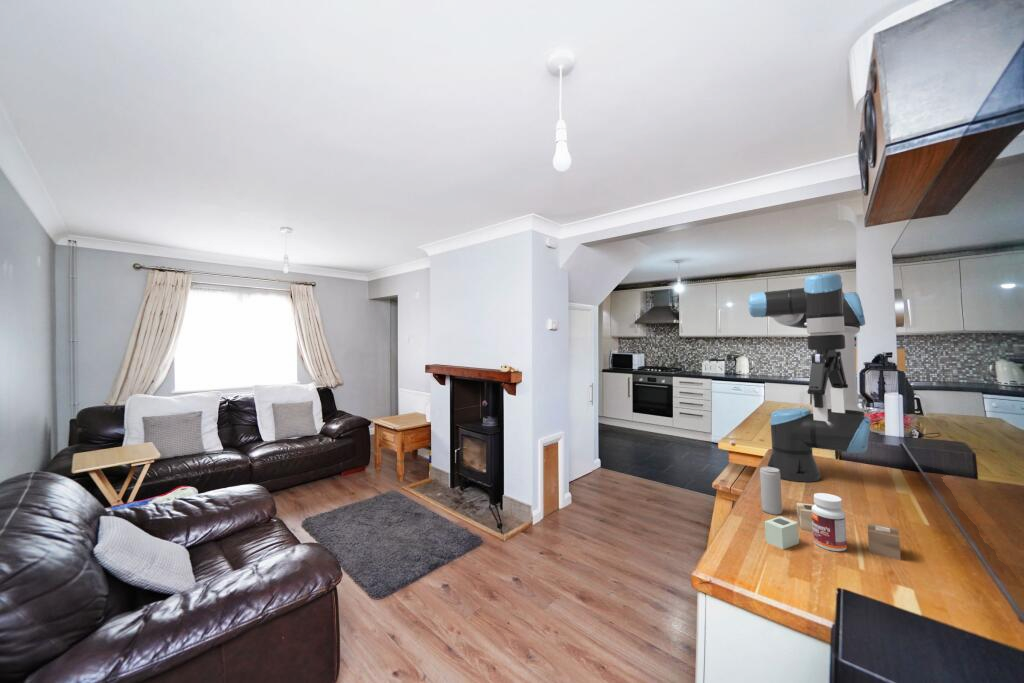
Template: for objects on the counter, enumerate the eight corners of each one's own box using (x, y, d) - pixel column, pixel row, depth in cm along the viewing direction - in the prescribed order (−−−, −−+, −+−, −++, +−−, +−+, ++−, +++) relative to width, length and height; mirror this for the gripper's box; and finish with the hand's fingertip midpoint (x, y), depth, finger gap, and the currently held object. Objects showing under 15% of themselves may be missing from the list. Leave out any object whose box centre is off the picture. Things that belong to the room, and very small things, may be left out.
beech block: (797, 521, 102) (796, 502, 102) (821, 524, 100) (820, 504, 100) (801, 530, 97) (800, 509, 98) (826, 533, 95) (825, 512, 95)
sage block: (781, 536, 95) (780, 515, 95) (799, 543, 91) (797, 521, 91) (765, 542, 93) (764, 520, 93) (782, 549, 89) (781, 527, 89)
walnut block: (868, 543, 90) (867, 521, 90) (898, 550, 86) (897, 527, 86) (869, 553, 86) (867, 529, 86) (900, 560, 83) (899, 536, 83)
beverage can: (785, 515, 105) (783, 472, 105) (766, 515, 106) (764, 471, 106) (777, 508, 110) (775, 466, 110) (758, 507, 111) (756, 466, 111)
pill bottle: (806, 541, 92) (804, 494, 92) (824, 536, 94) (822, 490, 94) (835, 554, 86) (832, 504, 86) (853, 549, 88) (851, 499, 88)
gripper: (823, 333, 109) (828, 407, 109) (789, 336, 95) (794, 422, 94) (858, 332, 103) (862, 410, 103) (827, 335, 88) (832, 426, 88)
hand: (829, 416), depth 99 cm, fingers open, 13 cm apart
